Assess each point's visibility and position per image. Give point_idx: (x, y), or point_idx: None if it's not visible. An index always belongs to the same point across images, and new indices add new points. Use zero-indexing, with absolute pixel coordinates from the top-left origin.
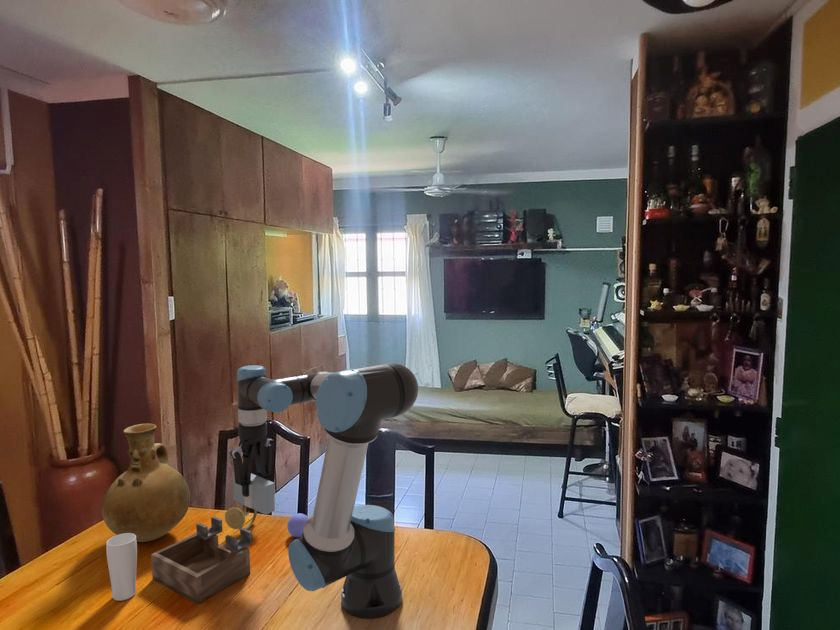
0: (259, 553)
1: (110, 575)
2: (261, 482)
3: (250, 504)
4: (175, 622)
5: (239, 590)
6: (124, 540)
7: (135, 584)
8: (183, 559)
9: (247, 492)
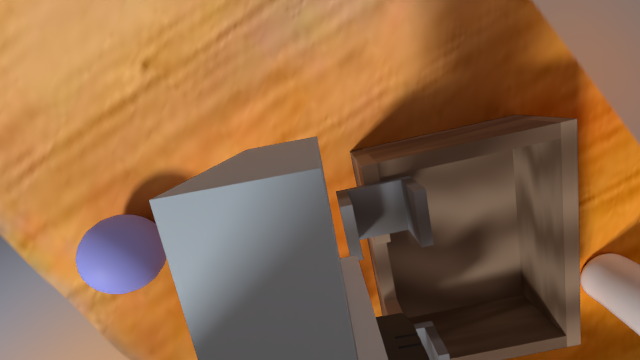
0: None
1: None
2: (298, 325)
3: (360, 268)
4: (591, 80)
5: (412, 95)
6: None
7: (606, 274)
8: (458, 313)
9: (395, 339)
